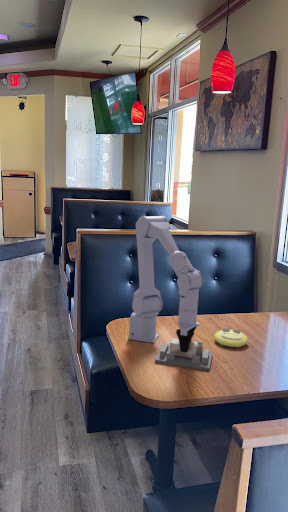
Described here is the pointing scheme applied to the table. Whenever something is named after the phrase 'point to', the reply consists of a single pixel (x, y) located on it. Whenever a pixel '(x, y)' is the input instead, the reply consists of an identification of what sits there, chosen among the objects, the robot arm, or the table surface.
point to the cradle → (184, 359)
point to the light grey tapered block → (194, 349)
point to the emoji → (231, 338)
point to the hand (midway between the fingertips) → (185, 349)
